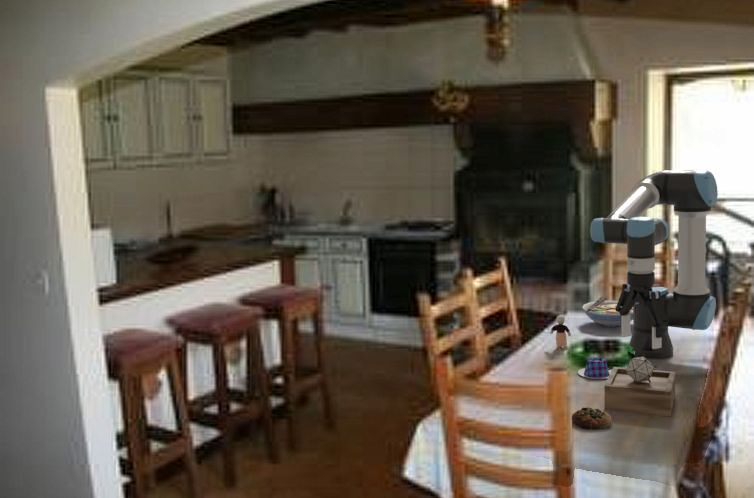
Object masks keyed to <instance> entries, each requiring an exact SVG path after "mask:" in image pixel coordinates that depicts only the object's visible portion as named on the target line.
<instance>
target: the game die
mask: <svg viewBox="0 0 754 498" xmlns="http://www.w3.org/2000/svg"><path fill="white" fill-rule="evenodd" d="M644 356H645V354H643V357H637V356H636V357H633V358H632V356H630V355H629V359H630V360H629V363H628V364H627V367H626V368H627V369H626V371H623V373H625V372H626V373H627V374H628V375H629V376H630V377H631V378H632V379H633V380H634V381H635V382H636V383H635V384H636V385H637V382H642V381H649V382H651V381H650V380H649V379H650V377H651V375H652V372H653V370H655V368H656V369H657V367H658V366H657V365H655V366H654V364H652V362H650V360H648V358H645V357H644Z"/></svg>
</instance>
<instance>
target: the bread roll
mask: <svg viewBox="0 0 754 498" xmlns="http://www.w3.org/2000/svg"><path fill="white" fill-rule="evenodd" d="M571 421H573V422H572V423H573V424H574V426H575V427H578V428H580V429H583V430H588V431H589V430H592V431H593V430H594V431H595V430H602V429H607V428H610V427H611V426H612V425H613V420H612V417H611V415H610V414H609V413H608V412H606V411H604V410H603V411H602V410H600V409H598V408H592V407H582V408H580V409H579V410H576V411H575V412H573V413H572V415H571Z"/></svg>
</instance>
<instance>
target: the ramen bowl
mask: <svg viewBox="0 0 754 498" xmlns="http://www.w3.org/2000/svg"><path fill="white" fill-rule="evenodd" d="M618 301H619V300H607V296H606V297H604V298H603V297H602V296H601V297H599V298H598V299H597V300H596V301H591V302H587V303H584V304H583V305H582V310H583V312H584V313H585V314H586V316H587V317H588V318H589V319H590V320H591V321H592V322H594V323H597V324H600V325H602V326H603V325H604V326H603V327H607V326H618V327H620V326H621V315H620V314H619V312H616V306H617V303H618ZM627 315H630V320H631V322H633V307H632V309H631V310H630V314H627ZM619 325H620V326H619Z"/></svg>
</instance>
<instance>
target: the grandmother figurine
mask: <svg viewBox="0 0 754 498" xmlns="http://www.w3.org/2000/svg"><path fill="white" fill-rule="evenodd" d="M565 320H566V317H565V315H563V314H559V315H557V316H556V318H555V320H554V321H555V322H556V323H557V324H555V325H553V326H552V327H551V330H550V335H551V334H552V335H553V333H554V332H555V331H556V334H555V342H556V347H555V349H556V350H561V349H562V350H564V351H565V350H569V349H568V348H569V346H568V343H567V335H568V337H571V336H572V333H571V331H570V329H569V327H568V326H567V325H566V324H565Z"/></svg>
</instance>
